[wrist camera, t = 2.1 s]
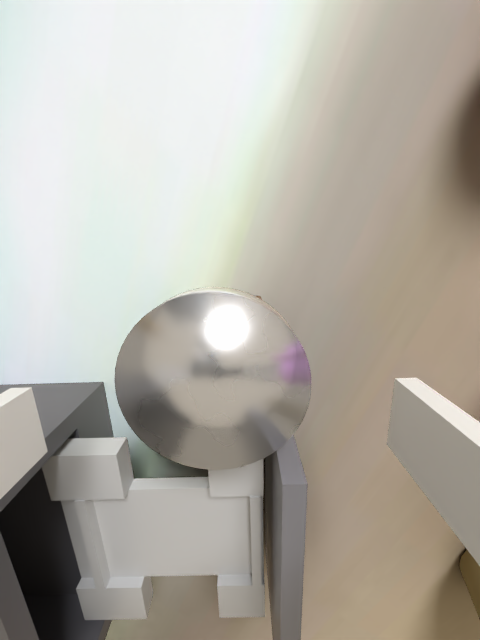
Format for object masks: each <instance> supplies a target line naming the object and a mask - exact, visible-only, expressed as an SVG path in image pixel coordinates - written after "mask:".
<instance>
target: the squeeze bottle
mask: <svg viewBox="0 0 480 640" xmlns="http://www.w3.org/2000/svg"><path fill="white" fill-rule="evenodd" d="M459 567H460V570H461V573H462V575H463V578H464V581H465V583H466V586H467V588H468V591H469V593H470V596H471V598H472V601H473V604H474V606H475V609H476V611H477V614H478V616H479V619H480V566H479V565H478V563H477V562H476V561H475V559H474V558H473V557H472V555H471V554H470V553H469V551H468V550H466V551H465V553H464V554H463V555H462V557H461V560H460V564H459Z"/></svg>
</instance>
